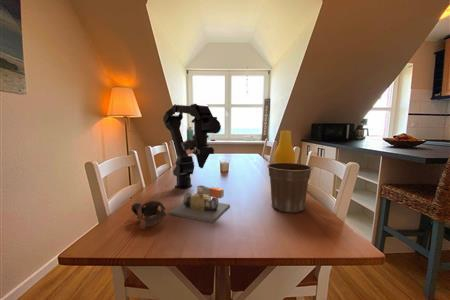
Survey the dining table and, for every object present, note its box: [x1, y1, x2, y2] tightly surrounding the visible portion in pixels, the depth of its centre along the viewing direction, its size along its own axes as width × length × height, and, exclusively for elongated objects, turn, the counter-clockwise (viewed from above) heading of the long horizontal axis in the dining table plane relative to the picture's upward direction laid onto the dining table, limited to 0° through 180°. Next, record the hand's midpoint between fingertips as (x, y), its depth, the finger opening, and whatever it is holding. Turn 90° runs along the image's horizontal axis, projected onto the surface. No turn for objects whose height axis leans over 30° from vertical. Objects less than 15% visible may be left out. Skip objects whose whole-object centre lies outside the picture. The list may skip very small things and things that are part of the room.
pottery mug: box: [130, 199, 167, 230], centre depth 66 cm, size 12×10×8 cm
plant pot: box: [267, 162, 313, 214], centre depth 80 cm, size 16×16×16 cm
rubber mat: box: [168, 202, 231, 224], centre depth 77 cm, size 17×15×1 cm
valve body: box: [182, 192, 220, 212], centre depth 77 cm, size 12×5×6 cm, turn 68°
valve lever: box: [196, 185, 225, 199], centre depth 74 cm, size 10×3×3 cm, turn 62°
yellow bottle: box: [273, 130, 296, 163], centre depth 96 cm, size 9×9×29 cm
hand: (200, 167), depth 94 cm, fingers closed
